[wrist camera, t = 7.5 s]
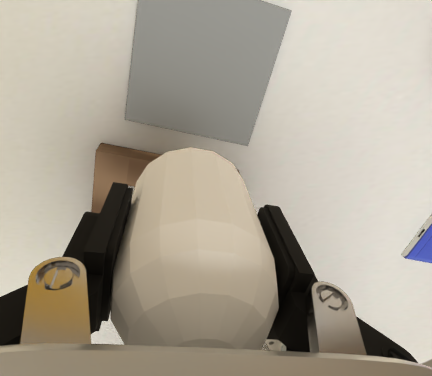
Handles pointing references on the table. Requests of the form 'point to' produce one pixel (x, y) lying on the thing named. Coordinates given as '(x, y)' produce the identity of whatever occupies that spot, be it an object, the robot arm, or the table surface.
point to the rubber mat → (203, 65)
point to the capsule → (193, 259)
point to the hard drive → (421, 244)
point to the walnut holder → (117, 170)
